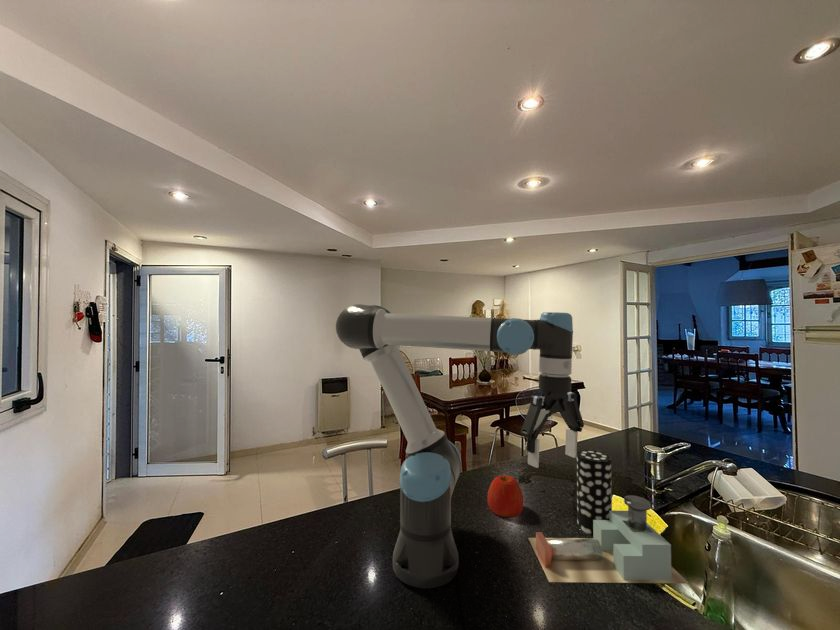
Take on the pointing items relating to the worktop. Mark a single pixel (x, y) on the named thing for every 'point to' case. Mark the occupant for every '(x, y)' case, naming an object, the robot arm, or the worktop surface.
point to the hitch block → (634, 548)
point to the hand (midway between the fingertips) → (552, 460)
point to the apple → (505, 497)
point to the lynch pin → (567, 549)
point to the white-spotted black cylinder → (593, 488)
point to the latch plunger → (637, 512)
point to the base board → (592, 570)
